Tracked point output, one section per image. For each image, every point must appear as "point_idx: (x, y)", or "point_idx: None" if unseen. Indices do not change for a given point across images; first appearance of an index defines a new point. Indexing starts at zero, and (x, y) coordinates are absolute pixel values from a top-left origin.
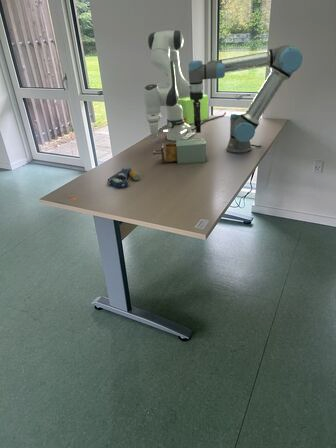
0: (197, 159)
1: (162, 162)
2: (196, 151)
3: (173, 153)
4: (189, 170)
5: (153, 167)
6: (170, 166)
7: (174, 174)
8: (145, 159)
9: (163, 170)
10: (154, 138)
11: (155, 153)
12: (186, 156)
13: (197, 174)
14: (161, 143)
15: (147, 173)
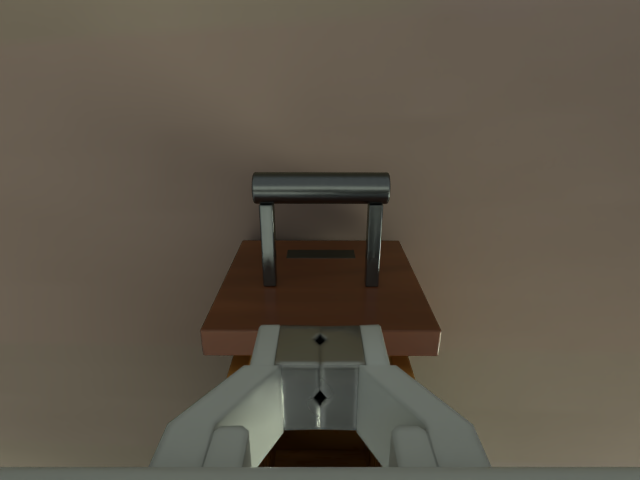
0: None
1: (241, 244)
2: None
3: None
4: (95, 430)
5: (173, 145)
6: (188, 303)
7: (5, 332)
8: (447, 31)
9: (91, 245)
10: (259, 333)
11: (259, 208)
12: None
13: None
14: (437, 333)
15: (4, 85)
